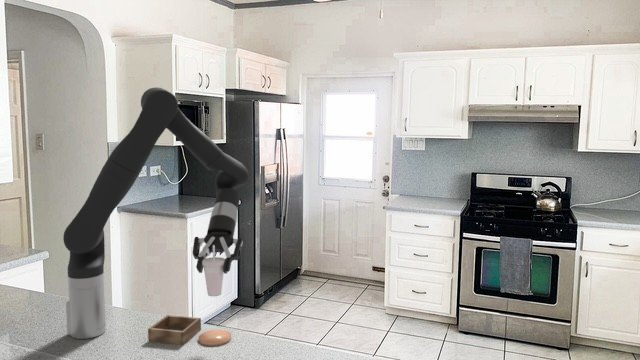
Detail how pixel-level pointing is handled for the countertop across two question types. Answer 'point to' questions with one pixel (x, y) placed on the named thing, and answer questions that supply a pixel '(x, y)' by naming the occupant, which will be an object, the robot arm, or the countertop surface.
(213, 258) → the smoothie
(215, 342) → the peach glossy dome
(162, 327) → the crate
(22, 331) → the countertop surface
